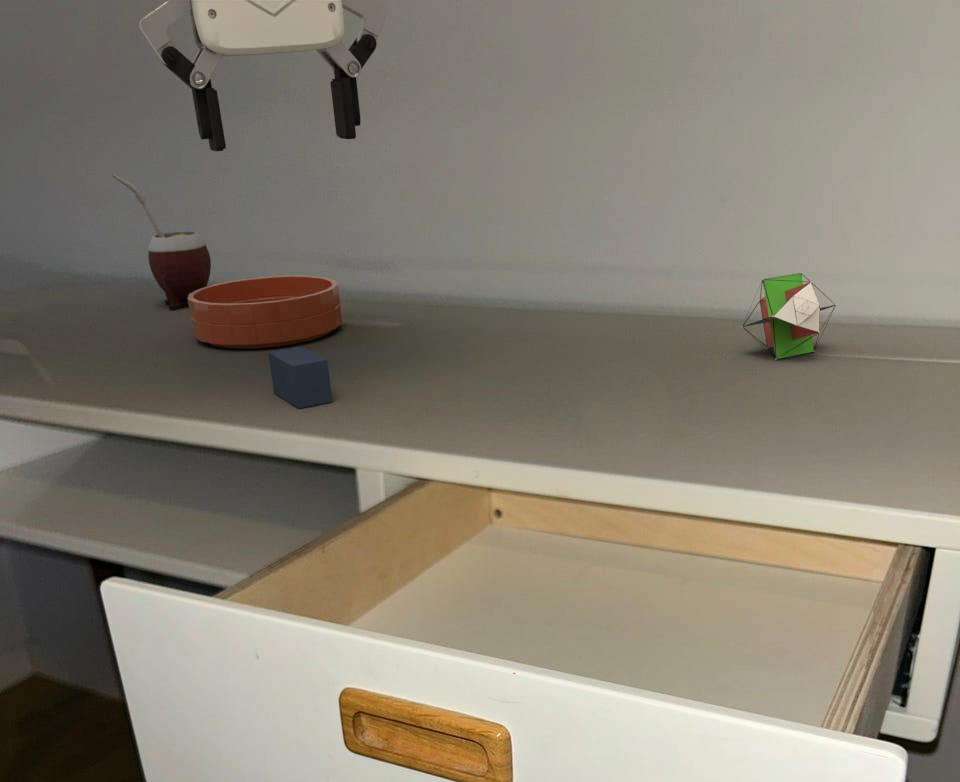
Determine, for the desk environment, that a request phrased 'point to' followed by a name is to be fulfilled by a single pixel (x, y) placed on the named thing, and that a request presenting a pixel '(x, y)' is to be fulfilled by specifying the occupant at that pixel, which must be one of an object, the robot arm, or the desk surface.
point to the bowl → (265, 311)
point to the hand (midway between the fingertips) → (283, 144)
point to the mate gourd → (175, 259)
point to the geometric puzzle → (789, 315)
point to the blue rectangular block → (300, 377)
